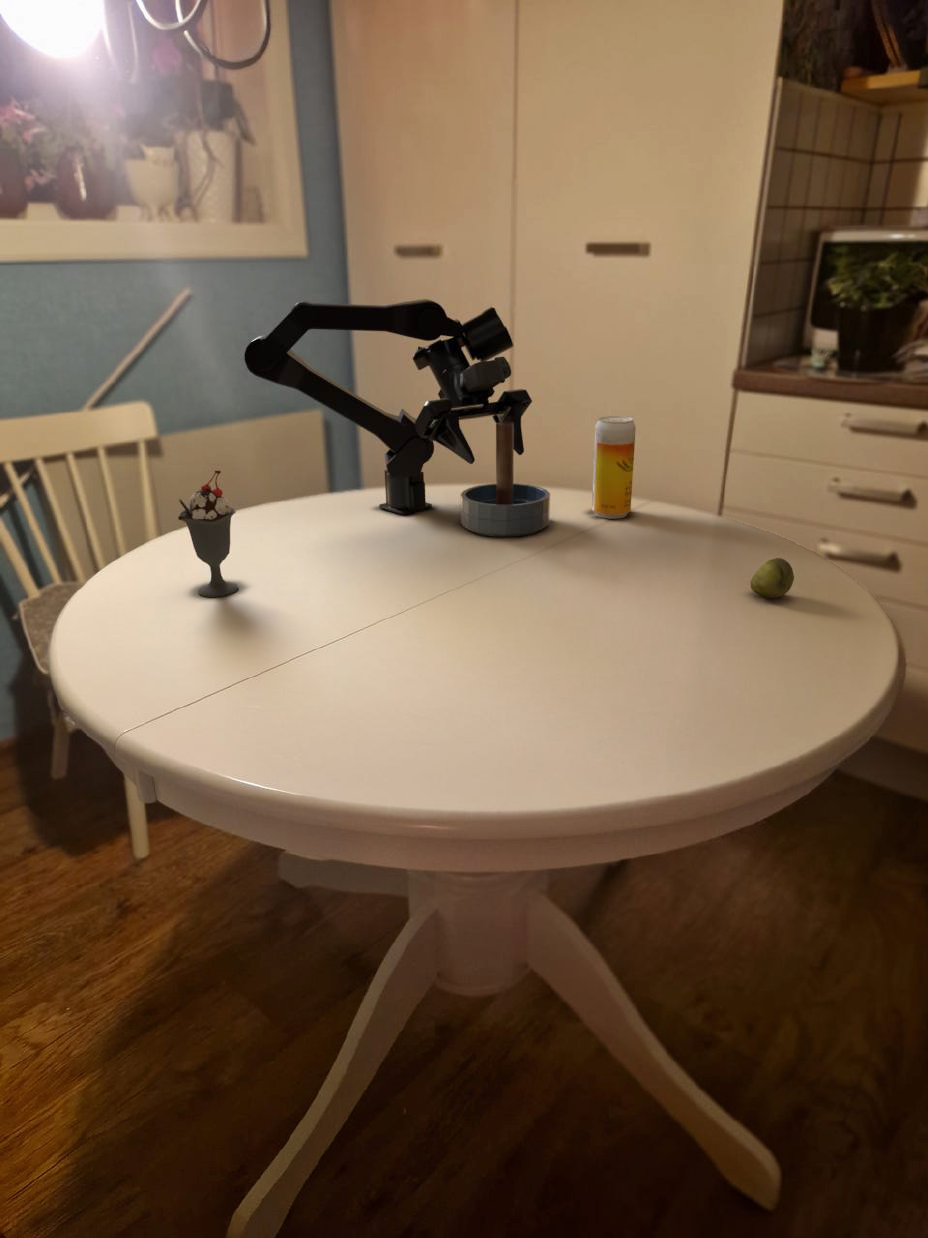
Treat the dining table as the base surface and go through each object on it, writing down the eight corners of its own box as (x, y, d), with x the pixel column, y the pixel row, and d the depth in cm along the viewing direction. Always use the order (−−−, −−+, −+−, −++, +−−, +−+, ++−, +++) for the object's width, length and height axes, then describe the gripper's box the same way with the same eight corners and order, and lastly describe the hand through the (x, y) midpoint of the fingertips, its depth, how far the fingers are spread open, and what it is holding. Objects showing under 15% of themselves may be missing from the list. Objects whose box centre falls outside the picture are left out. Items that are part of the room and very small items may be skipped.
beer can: (633, 519, 135) (639, 422, 129) (594, 519, 135) (598, 422, 129) (627, 508, 140) (632, 415, 134) (589, 509, 140) (593, 415, 135)
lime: (746, 600, 103) (750, 560, 101) (758, 588, 106) (763, 549, 104) (784, 607, 100) (790, 567, 98) (795, 594, 104) (801, 555, 102)
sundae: (255, 583, 111) (241, 468, 105) (225, 602, 105) (209, 480, 99) (211, 578, 113) (195, 464, 107) (180, 596, 107) (161, 477, 101)
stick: (484, 522, 133) (483, 423, 127) (504, 516, 135) (504, 419, 130) (505, 527, 130) (505, 427, 124) (524, 521, 132) (526, 422, 127)
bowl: (443, 526, 133) (442, 494, 131) (503, 508, 142) (503, 478, 140) (506, 544, 124) (506, 510, 122) (566, 524, 133) (567, 493, 131)
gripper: (421, 343, 123) (467, 433, 118) (524, 334, 132) (570, 417, 128) (396, 394, 132) (438, 479, 128) (494, 382, 141) (536, 460, 137)
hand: (497, 457), depth 130 cm, fingers open, 9 cm apart
